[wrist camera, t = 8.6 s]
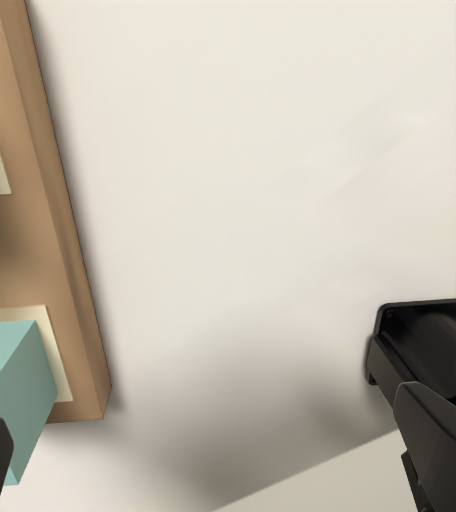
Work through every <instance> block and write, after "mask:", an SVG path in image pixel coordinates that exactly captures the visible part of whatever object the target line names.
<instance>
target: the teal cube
mask: <svg viewBox="0 0 456 512" xmlns="http://www.w3.org/2000/svg"><path fill="white" fill-rule="evenodd" d="M57 395H58V391H57V387H56V384H55V381H54V378H53V375H52V371H51V368H50V365H49V362H48V359H47V355H46V352H45V349H44V346H43V343H42V340H41V336H40V333H39V330H38V327H37V324H36V320H23V321H7V322H0V417H1V418H3V419H4V420H5V422H6V425H7V427H8V429H9V432H10V434H11V436H12V438H13V441H14V451H13V455H12V458H11V462H10V465H9V468H8V471H7V475H6V478H5V481H4V485H3V486H10V485H18V484H19V482H20V480H21V477H22V475H23V473H24V471H25V468H26V466H27V464H28V461H29V459H30V457H31V455H32V452H33V450H34V448H35V446H36V443H37V441H38V439H39V436H40V434H41V432H42V430H43V427H44V425H45V423H46V420H47V418H48V416H49V414H50V411H51V409H52V407H53V405H54V402H55V400H56V398H57Z"/></svg>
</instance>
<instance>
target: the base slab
mask: <svg viewBox="0 0 456 512" xmlns="http://www.w3.org/2000/svg"><path fill="white" fill-rule="evenodd" d="M23 320H36V324H37V327H38V330H39V333H40V336H41V340H42V343H43V346H44V349H45V352H46V355H47V359H48V362H49V365H50V368H51V371H52V375H53V378H54V381H55V384H56V387H57V391H58V395H57V398H56V400H55V402H54V405H53V407H52V409H51V411H50V414H49V416H48V418H47V420H46V423H45V424H49V423H60V422H72V421H83V420H95V419H103V417H104V413H105V410H106V406H107V402H108V399H109V395H110V391H111V388H112V385H111V381H110V376H109V372H108V368H107V363H106V359H105V354H104V350H103V346H102V341H101V337H100V332H99V328H98V323H97V319H96V315H95V310H94V306H93V301H92V297H91V293H90V288H89V284H88V279H87V275H86V270H85V266H84V262H83V257H82V253H81V248H80V244H79V240H78V235H77V231H76V226H75V222H74V217H73V213H72V209H71V204H70V200H69V195H68V191H67V187H66V182H65V178H64V173H63V169H62V164H61V160H60V156H59V151H58V147H57V142H56V138H55V134H54V129H53V125H52V120H51V116H50V111H49V107H48V103H47V98H46V94H45V89H44V85H43V81H42V76H41V72H40V67H39V63H38V58H37V54H36V50H35V45H34V41H33V36H32V32H31V28H30V23H29V19H28V14H27V10H26V5H25V1H24V0H0V322H7V321H23Z"/></svg>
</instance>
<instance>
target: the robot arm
mask: <svg viewBox="0 0 456 512" xmlns="http://www.w3.org/2000/svg"><path fill="white" fill-rule="evenodd" d="M389 310H390V312H388V313H386V312H387V311H389ZM366 379H367V381H368V383H369V384H370V385H378V386H379V387H380V389H381V391H382V392H383V394H384V396H385V397H386V399H387V400H388V402H389V404H390V405H391V407H392V409H393V414H394V417H395V420H396V422H397V425H398V427H399V430H400V432H401V435H402V437H403V440H404V442H405V445H406V447H407V451H406V452H404V453H403V454H402V455H401V458H402V461H403V465H404V468H405V471H406V474H407V478H408V481H409V484H410V487H411V491H412V493H413V497H414V500H415V503H416V507H417V510H418V512H456V299H442V300H427V301H413V302H398V303H387V304H384V305H382V306H381V307H380V309H379V313H378V318H377V323H376V328H375V333H374V335H373V337H372V340H371V345H370V350H369V355H368V360H367V373H366ZM13 451H14V441H13V438H12V436H11V434H10V432H9V429H8V427H7V425H6V422H5V420H4V419H3V418H1V417H0V495H1V491H2V488H3V485H4V481H5V478H6V475H7V471H8V468H9V465H10V462H11V458H12V455H13Z"/></svg>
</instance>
